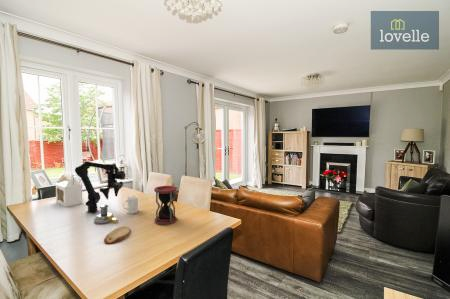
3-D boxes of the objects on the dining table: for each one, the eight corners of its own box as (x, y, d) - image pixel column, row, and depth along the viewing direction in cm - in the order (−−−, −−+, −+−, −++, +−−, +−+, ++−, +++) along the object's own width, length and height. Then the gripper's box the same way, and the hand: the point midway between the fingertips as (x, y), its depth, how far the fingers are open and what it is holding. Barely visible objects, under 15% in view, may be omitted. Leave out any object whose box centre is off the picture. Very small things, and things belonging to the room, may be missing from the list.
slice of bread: (126, 227, 150) (126, 222, 150) (137, 236, 137) (137, 231, 137) (97, 236, 137) (97, 230, 137) (107, 246, 125) (106, 240, 125)
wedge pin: (99, 218, 159) (99, 206, 158) (104, 216, 163) (103, 204, 162) (104, 219, 158) (103, 207, 157) (108, 217, 162) (108, 205, 161)
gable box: (82, 203, 199) (81, 173, 197) (65, 207, 188) (64, 175, 186) (72, 198, 212) (71, 170, 210) (56, 202, 201) (55, 172, 199)
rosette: (89, 222, 156) (89, 216, 156) (104, 216, 168) (104, 210, 168) (109, 226, 151) (109, 219, 151) (122, 219, 164) (122, 213, 163)
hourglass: (169, 215, 174) (169, 184, 172) (180, 221, 162) (181, 188, 160) (150, 220, 162) (150, 187, 161) (161, 227, 151) (161, 192, 149)
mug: (124, 215, 172) (124, 200, 171) (121, 212, 178) (121, 197, 178) (139, 212, 180) (139, 197, 179) (136, 209, 186) (136, 195, 185)
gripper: (110, 182, 165) (111, 202, 166) (127, 177, 183) (128, 195, 184) (98, 180, 168) (99, 200, 169) (117, 176, 186) (117, 194, 187)
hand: (111, 197), depth 177 cm, fingers open, 9 cm apart
